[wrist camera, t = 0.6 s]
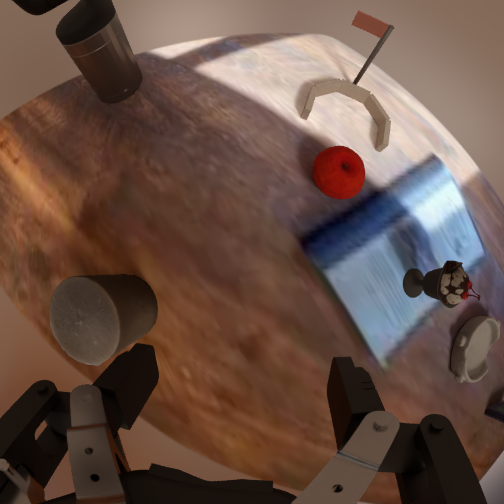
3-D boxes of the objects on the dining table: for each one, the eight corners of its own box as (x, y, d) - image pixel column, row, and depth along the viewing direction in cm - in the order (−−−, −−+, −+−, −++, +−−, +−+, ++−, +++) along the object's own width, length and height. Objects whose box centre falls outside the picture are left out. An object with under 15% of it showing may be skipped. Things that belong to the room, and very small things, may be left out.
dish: (489, 312, 41) (504, 313, 36) (479, 370, 40) (493, 375, 35) (451, 317, 40) (468, 320, 35) (440, 384, 39) (455, 391, 34)
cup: (379, 152, 41) (440, 101, 23) (300, 118, 41) (333, 44, 23) (386, 102, 42) (433, 49, 25) (316, 71, 42) (344, 3, 24)
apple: (325, 148, 41) (340, 126, 33) (362, 180, 41) (383, 164, 33) (296, 181, 40) (308, 163, 32) (336, 215, 40) (356, 204, 32)
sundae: (419, 308, 40) (480, 318, 25) (393, 292, 40) (456, 298, 25) (432, 274, 40) (493, 273, 25) (407, 256, 40) (470, 249, 25)
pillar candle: (141, 263, 37) (89, 258, 22) (169, 324, 37) (131, 353, 22) (92, 290, 37) (30, 296, 22) (118, 347, 36) (66, 379, 21)
